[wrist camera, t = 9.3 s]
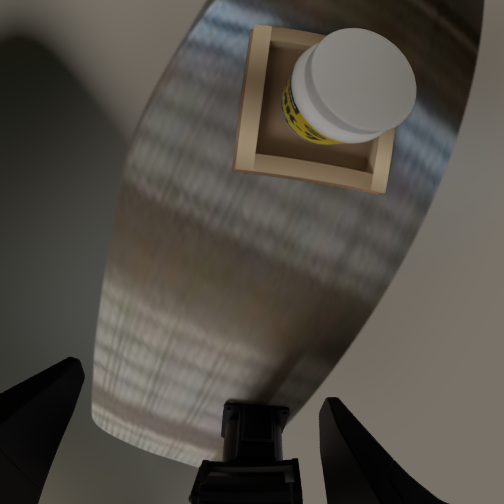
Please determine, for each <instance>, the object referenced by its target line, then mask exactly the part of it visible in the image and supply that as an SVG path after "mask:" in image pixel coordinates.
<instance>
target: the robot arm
mask: <svg viewBox="0 0 504 504" xmlns="http://www.w3.org/2000/svg"><path fill="white" fill-rule="evenodd" d="M84 379H85V374H84V371H83V368H82V364H81V362H80V360H79V359H77V358H74V357H68V358H66V359H64V360H62V361H60V362H59V363H57V364H55V365H53V366H51V367H49V368H47V369H46V370H44V371H42V372H40V373H38V374H36V375H34V376H32V377H30V378H29V379H27V380H25V381H23V382H21V383H19V384H17V385H15V386H14V387H12V388H10V389H8V390H6V391H4V392H3V393H0V504H38V502H39V499H40V496H41V493H42V489H43V487H44V484H45V481H46V478H47V476H48V473H49V470H50V467H51V465H52V462H53V460H54V457H55V454H56V452H57V449H58V447H59V444H60V442H61V439H62V437H63V435H64V432H65V430H66V428H67V425H68V423H69V421H70V419H71V416H72V414H73V412H74V409H75V406H76V403H77V400H78V397H79V394H80V391H81V388H82V385H83V382H84ZM289 413H290V410H289V408H288V407H275V406H260V405H248V404H238V403H225V404H224V410H223V420H222V431H221V436H222V437H223V438H224V447H223V457H222V462H219V461H209V460H203V461H202V464H201V466H200V467H199V470H198V474H197V476H196V480H195V482H194V485H193V488H192V491H191V494H190V496H189V502H190V503H191V504H303V499H302V487H301V479H300V471H299V463H298V458H293V459H292V460H283V452H282V435H281V434H282V432H283V429H284V427H285V424H286V421H287V419H288V416H289ZM319 429H320V455H321V461H322V467H323V475H324V482H325V489H326V496H327V504H449V503H446V502H443V501H442V500H440V499H438V498H437V497H435V496H434V495H433V494H432V493H430V492H429V491H428V490H427V489H425V488H424V487H423V486H422V485H420V484H419V483H418V482H417V481H416V480H414V479H413V478H412V477H411V476H410V475H409V474H408V473H407V472H405V470H404V469H403V468H402V467H401V466H400V465H399V464H398V463H397V462H396V461H395V460H393V458H392V457H391V456H390V455H389V454H388V453H387V451H386V450H385V449H384V448H383V447H382V446H381V445H380V444H379V443H378V442H377V441H376V439H375V438H374V437H373V436H372V435H371V434H370V433H369V432H368V431H367V430H366V428H365V427H364V426H363V425H362V424H361V423H360V422H359V421H358V420H357V418H356V417H355V416H354V415H353V414H352V413H351V412H350V411H349V410H348V409H347V407H346V406H345V405H344V404H343V403H342V402H341V400H340V399H339V398H337V397H328V398H326V399H325V401H324V403H323V405H322V408H321V410H320V413H319Z"/></svg>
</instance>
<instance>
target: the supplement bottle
mask: <svg viewBox="0 0 504 504" xmlns="http://www.w3.org/2000/svg"><path fill="white" fill-rule="evenodd" d="M415 99H416V81H415V77H414V73H413V70H412V68H411V66H410V64H409V62H408V61H407V59H406V57H405V56H404V55H403V53H402V52H401V51H400V50H399V49H398V48H397V47H396V46H395V45H394V44H393V43H391V42H390V41H389V40H388V39H386V38H384V37H383V36H381V35H379V34H377V33H374V32H372V31H369V30H365V29H360V28H347V29H341V30H338V31H335V32H332V33H331V34H329V35H327V36H326V37H325V38H323V39H322V41H321V42H319V43H317V44H315V45H313V46H311V47H310V48H308V49H307V50H306V51H305V52H304V53H303V54H302V55H301V56H300V57H299V58H298V60H297V62H296V63H295V65H294V68H293V70H292V72H291V75H290V77H289V79H288V81H287V84H286V86H285V88H284V91H283V94H282V98H281V111H282V115H283V118H284V120H285V122H286V124H287V125H288V127H289V128H290V129H291V130H292V131H293V132H294V133H295V134H296V135H297V136H299V137H300V138H301V139H303V140H305V141H307V142H310V143H314V144H320V145H330V144H354V143H362V142H367V141H370V140H372V139H374V138H376V137H378V136H380V135H381V134H383V133H384V132H385V131H386V130H390V129H392V128H394V127H396V126H398V125H400V124H401V123H402V122H403V121H404V120H405V119H406V118H407V117H408V116H409V114H410V113H411V111H412V109H413V107H414V104H415Z"/></svg>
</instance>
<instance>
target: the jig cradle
mask: <svg viewBox="0 0 504 504" xmlns="http://www.w3.org/2000/svg"><path fill="white" fill-rule="evenodd" d="M325 37H326V35H321V34H316V33H311V32H306V31H300V30H295V29H288V28H281V27H274V26H265V25H254V30H252V29H251V30H250V37H249V43H248V50H247V57H246V64H245V71H244V78H243V85H242V92H241V100H240V108H239V115H238V123H237V131H236V140H235V148H234V156H233V165H232V172H239V173H248V174H257V175H264V176H272V177H279V178H287V179H293V180H300V181H306V182H313V183H319V184H325V185H330V186H336V187H341V188H347V189H352V190H357V191H362V192H367V193H372V194H377V195H379V192H381V193H385V191H386V185H387V180H388V174H389V168H390V162H391V155H392V149H393V141H394V134H395V127H394V128H392V129H390V130H386V131H385V132H384V133H383V134H381V135H380V136H378V137H376V138H374V139H372V140H370V141H367V142H362V143H354V144H330V145H320V144H314V143H310V142H307V141H305V140H303V139H301V138H300V137H299V136H297V135H296V134H295V133H294V132H293V131H292V130H291V129H290V128H289V127H288V125H287V124H286V122H285V120H284V118H283V115H282V111H281V98H282V94H283V91H284V88H285V86H286V84H287V81H288V79H289V77H290V75H291V72H292V70H293V68H294V65H295V63H296V62H297V60H298V58H299V57H300V56H301V55H302V54H303V53H304V52H305V51H306V50H307V49H308V48H310V47H311V46H313V45H315V44H317V43H319V42H321V41H322V39H323V38H325Z"/></svg>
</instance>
